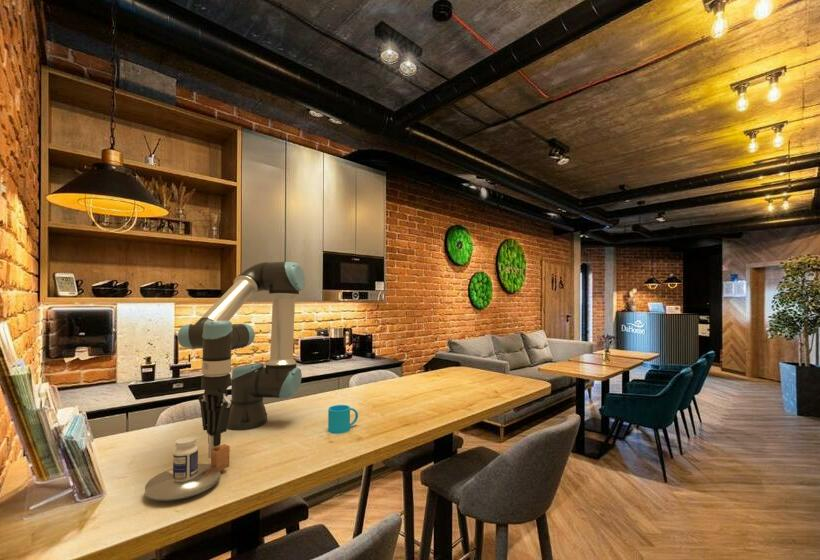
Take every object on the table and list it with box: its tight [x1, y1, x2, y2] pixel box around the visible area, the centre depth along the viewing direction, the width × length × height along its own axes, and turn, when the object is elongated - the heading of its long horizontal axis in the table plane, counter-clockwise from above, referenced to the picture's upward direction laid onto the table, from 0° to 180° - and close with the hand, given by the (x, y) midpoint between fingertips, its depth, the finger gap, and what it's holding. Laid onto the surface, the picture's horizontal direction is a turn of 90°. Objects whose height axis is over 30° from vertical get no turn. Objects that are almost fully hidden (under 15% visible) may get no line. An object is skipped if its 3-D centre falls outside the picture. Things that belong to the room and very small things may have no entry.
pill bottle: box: [172, 435, 199, 482], centre depth 99 cm, size 6×6×10 cm
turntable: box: [144, 444, 231, 502], centre depth 100 cm, size 17×20×6 cm
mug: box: [327, 404, 359, 434], centre depth 143 cm, size 12×8×8 cm
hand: (213, 456), depth 108 cm, fingers closed
